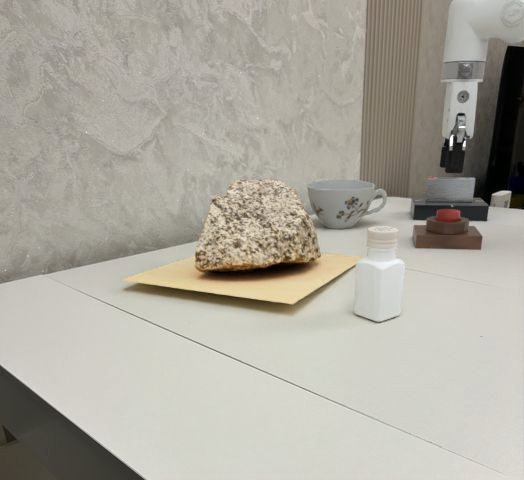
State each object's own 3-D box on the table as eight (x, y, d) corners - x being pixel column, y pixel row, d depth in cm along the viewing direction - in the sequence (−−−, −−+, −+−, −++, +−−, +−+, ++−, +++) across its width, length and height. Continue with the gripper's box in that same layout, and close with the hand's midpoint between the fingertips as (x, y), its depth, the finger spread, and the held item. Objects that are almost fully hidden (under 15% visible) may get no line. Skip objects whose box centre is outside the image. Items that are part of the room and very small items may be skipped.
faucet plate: (477, 211, 117) (479, 195, 116) (488, 223, 105) (490, 206, 104) (409, 210, 120) (411, 195, 118) (413, 221, 108) (414, 205, 107)
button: (457, 219, 90) (458, 209, 90) (460, 224, 87) (461, 212, 87) (434, 219, 91) (436, 208, 90) (437, 223, 88) (438, 212, 87)
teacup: (307, 233, 100) (307, 188, 97) (305, 220, 111) (306, 179, 108) (390, 232, 99) (393, 186, 96) (380, 219, 111) (383, 178, 107)
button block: (472, 238, 93) (476, 215, 92) (480, 250, 86) (484, 224, 84) (412, 237, 95) (414, 214, 93) (415, 248, 88) (417, 223, 86)
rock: (226, 242, 93) (270, 154, 85) (325, 318, 90) (382, 234, 81) (115, 277, 70) (161, 161, 61) (244, 381, 66) (312, 274, 58)
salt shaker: (351, 314, 61) (355, 228, 57) (375, 306, 63) (381, 223, 59) (378, 324, 58) (385, 234, 54) (403, 316, 60) (411, 229, 56)
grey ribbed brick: (470, 200, 111) (474, 176, 109) (472, 202, 110) (475, 177, 108) (425, 200, 113) (427, 176, 111) (425, 201, 111) (428, 177, 109)
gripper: (492, 71, 93) (477, 175, 101) (476, 75, 109) (464, 165, 116) (446, 72, 95) (434, 175, 102) (437, 76, 110) (427, 165, 117)
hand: (450, 170), depth 109 cm, fingers open, 9 cm apart
